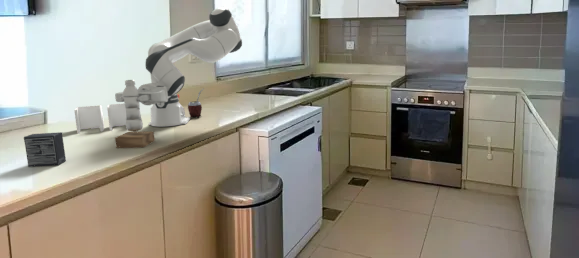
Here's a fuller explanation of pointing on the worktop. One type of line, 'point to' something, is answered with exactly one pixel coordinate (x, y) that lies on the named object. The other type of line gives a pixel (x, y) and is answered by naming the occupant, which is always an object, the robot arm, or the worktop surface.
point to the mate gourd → (195, 108)
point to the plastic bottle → (132, 106)
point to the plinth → (134, 139)
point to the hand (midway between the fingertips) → (130, 99)
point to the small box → (44, 149)
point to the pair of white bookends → (99, 116)
